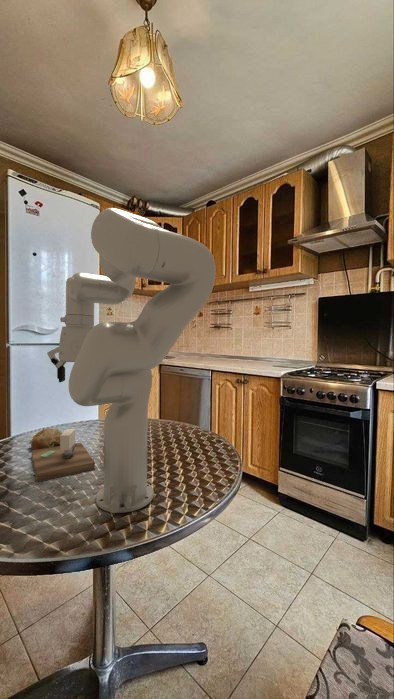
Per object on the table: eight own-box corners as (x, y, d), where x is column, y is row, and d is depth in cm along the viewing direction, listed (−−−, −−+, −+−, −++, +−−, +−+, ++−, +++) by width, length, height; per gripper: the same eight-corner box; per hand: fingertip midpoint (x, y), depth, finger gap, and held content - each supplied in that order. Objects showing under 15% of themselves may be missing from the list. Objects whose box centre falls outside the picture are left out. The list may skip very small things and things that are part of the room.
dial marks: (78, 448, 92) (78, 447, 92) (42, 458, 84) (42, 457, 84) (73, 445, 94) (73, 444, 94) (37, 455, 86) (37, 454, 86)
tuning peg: (70, 460, 82) (70, 435, 82) (58, 461, 82) (58, 435, 82) (81, 446, 93) (81, 423, 93) (70, 446, 93) (70, 424, 92)
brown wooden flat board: (94, 469, 82) (94, 462, 82) (36, 481, 74) (36, 474, 74) (80, 448, 97) (80, 442, 97) (31, 457, 90) (31, 450, 90)
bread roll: (42, 466, 92) (51, 444, 91) (19, 448, 95) (27, 426, 94) (66, 454, 101) (74, 434, 100) (45, 438, 104) (52, 418, 103)
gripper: (42, 320, 80) (42, 383, 81) (108, 322, 82) (107, 384, 83) (53, 321, 88) (53, 379, 89) (113, 323, 89) (112, 380, 90)
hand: (79, 381), depth 86 cm, fingers open, 9 cm apart
